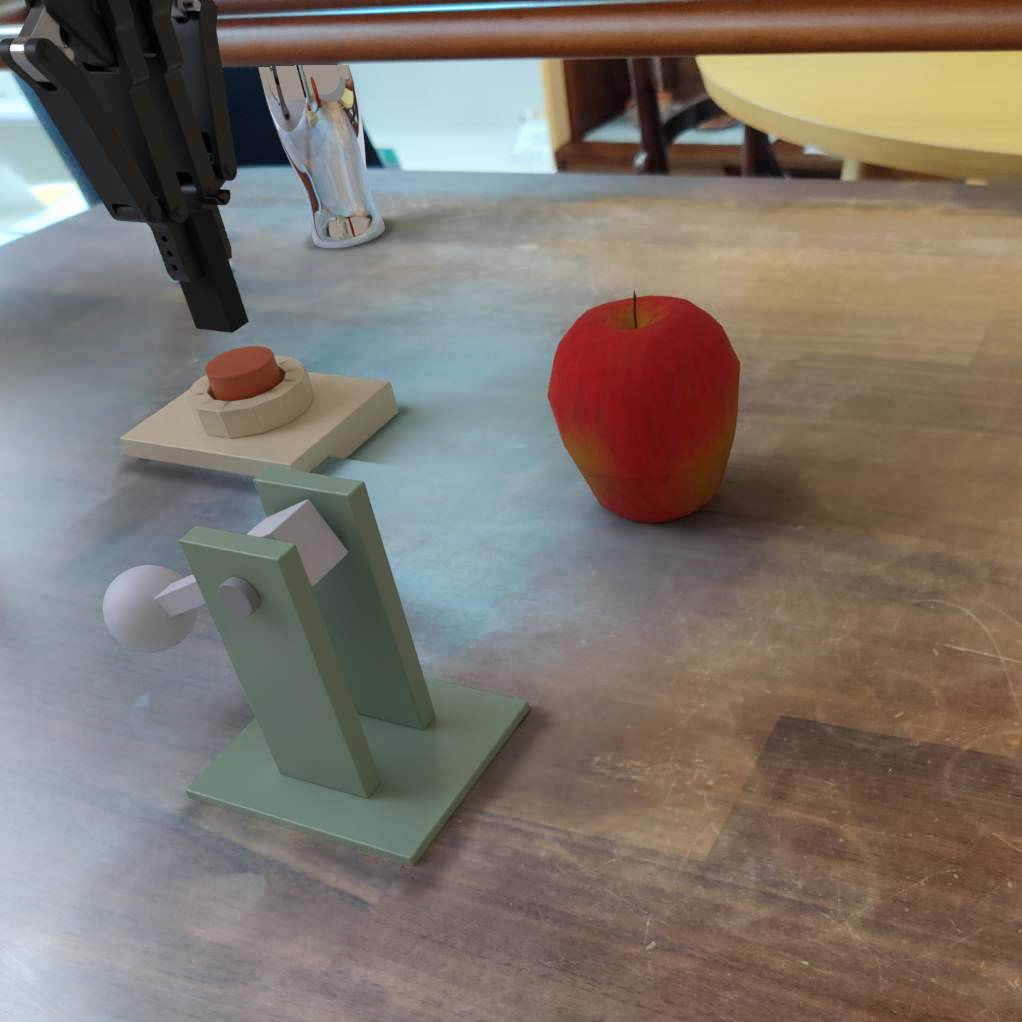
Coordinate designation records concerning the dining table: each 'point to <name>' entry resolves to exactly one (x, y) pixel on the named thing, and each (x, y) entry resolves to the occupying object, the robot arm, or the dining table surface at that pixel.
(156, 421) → the cream button base
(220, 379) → the button
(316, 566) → the tap lever
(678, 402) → the apple
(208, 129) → the robot arm
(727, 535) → the dining table surface
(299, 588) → the bracket
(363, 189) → the beer glass
